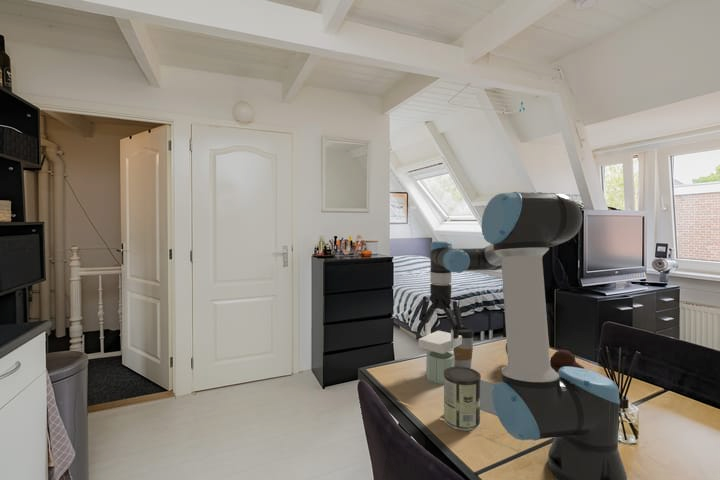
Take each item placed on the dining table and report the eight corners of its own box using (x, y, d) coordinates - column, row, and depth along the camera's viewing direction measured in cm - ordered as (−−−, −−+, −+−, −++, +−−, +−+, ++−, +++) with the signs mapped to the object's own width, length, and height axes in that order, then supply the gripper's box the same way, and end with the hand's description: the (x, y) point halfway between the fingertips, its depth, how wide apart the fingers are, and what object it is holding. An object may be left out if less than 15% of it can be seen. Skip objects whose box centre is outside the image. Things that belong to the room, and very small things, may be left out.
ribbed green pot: (445, 387, 124) (445, 361, 123) (421, 378, 130) (421, 354, 130) (459, 378, 131) (459, 354, 131) (435, 370, 138) (435, 347, 137)
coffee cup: (447, 364, 144) (448, 328, 143) (463, 360, 147) (464, 325, 147) (461, 372, 136) (462, 333, 136) (478, 368, 140) (478, 330, 139)
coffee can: (461, 408, 109) (461, 363, 109) (488, 424, 101) (488, 376, 100) (435, 417, 104) (436, 370, 104) (461, 435, 95) (462, 384, 95)
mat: (497, 417, 104) (497, 415, 104) (448, 399, 115) (448, 398, 115) (520, 393, 119) (520, 392, 119) (475, 379, 130) (475, 378, 130)
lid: (443, 354, 122) (443, 345, 122) (418, 347, 129) (418, 339, 128) (461, 343, 132) (461, 335, 132) (438, 337, 139) (438, 330, 139)
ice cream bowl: (590, 402, 113) (591, 356, 112) (552, 399, 115) (553, 354, 114) (577, 387, 123) (578, 345, 122) (542, 384, 125) (543, 343, 125)
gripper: (474, 285, 124) (474, 347, 125) (420, 279, 140) (420, 334, 141) (464, 288, 119) (464, 353, 120) (409, 281, 134) (409, 339, 135)
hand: (440, 343), depth 130 cm, fingers closed on lid, 10 cm apart
